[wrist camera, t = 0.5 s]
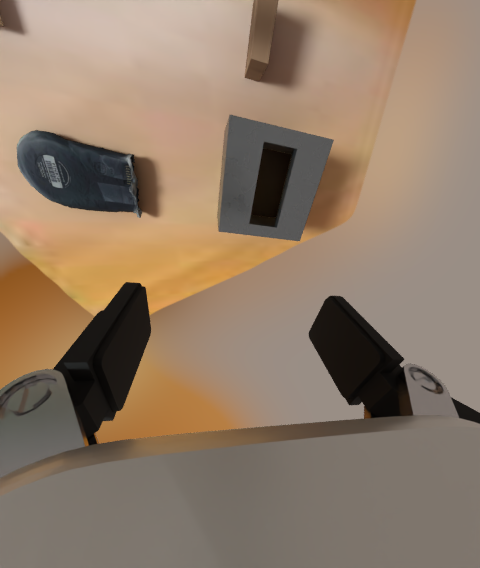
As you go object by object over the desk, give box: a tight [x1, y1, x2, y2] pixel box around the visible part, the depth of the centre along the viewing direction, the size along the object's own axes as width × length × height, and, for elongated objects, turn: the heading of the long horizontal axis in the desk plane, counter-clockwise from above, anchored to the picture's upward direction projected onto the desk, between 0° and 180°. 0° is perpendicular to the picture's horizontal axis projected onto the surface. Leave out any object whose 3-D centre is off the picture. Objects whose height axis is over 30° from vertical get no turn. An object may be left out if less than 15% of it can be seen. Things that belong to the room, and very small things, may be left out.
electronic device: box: [17, 130, 142, 218], centre depth 27 cm, size 9×6×15 cm
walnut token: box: [245, 0, 278, 81], centre depth 21 cm, size 6×2×5 cm, turn 171°
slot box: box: [217, 115, 334, 241], centre depth 27 cm, size 12×12×10 cm
